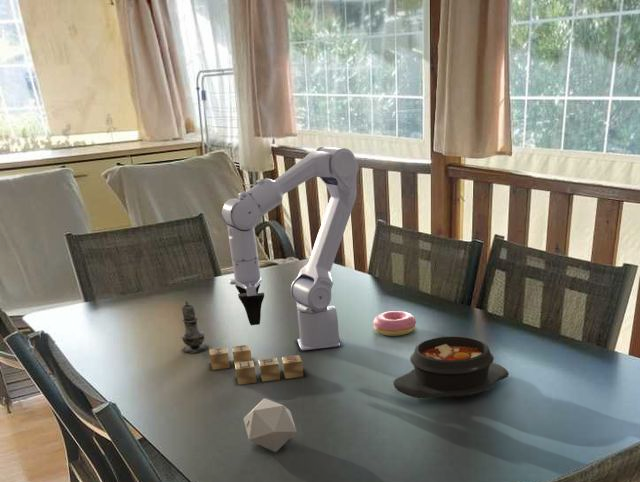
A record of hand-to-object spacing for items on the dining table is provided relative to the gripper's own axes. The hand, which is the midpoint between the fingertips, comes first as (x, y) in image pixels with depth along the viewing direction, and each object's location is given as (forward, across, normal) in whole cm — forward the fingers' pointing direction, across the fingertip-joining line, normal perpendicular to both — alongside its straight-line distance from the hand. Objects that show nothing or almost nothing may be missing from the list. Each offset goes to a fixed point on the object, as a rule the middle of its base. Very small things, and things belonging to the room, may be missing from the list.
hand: (253, 319), depth 158 cm
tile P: (+9, +13, +1) cm, 16 cm away
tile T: (+9, +2, -4) cm, 10 cm away
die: (+10, +46, -2) cm, 47 cm away
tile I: (+9, +2, -9) cm, 13 cm away
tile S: (+9, +13, +6) cm, 17 cm away
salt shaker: (+10, -12, -14) cm, 21 cm away
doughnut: (+10, -8, +36) cm, 38 cm away
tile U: (+9, +13, -4) cm, 16 cm away
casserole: (+10, +31, +37) cm, 49 cm away
